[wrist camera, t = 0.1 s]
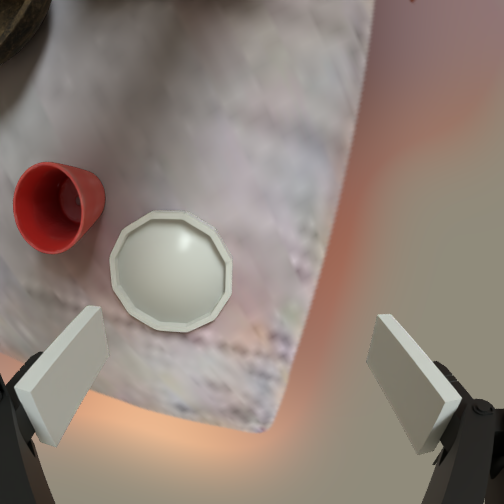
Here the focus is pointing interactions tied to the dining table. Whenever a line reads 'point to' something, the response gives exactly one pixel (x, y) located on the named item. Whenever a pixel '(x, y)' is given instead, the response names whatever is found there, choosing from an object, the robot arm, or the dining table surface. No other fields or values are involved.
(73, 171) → the flower pot
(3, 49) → the bowl
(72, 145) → the dining table surface
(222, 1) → the dining table surface
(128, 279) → the saucer
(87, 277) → the dining table surface
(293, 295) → the dining table surface
